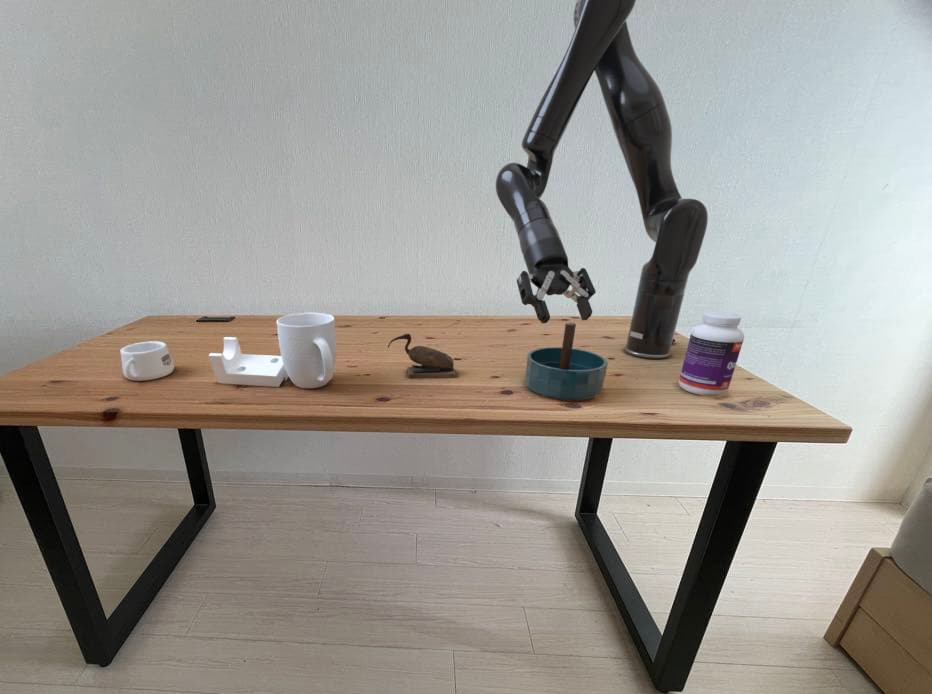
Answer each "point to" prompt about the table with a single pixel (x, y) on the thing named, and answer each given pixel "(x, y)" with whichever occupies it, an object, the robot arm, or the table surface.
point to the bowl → (565, 374)
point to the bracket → (246, 366)
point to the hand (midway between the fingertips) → (567, 319)
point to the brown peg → (567, 346)
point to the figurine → (427, 361)
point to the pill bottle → (712, 354)
